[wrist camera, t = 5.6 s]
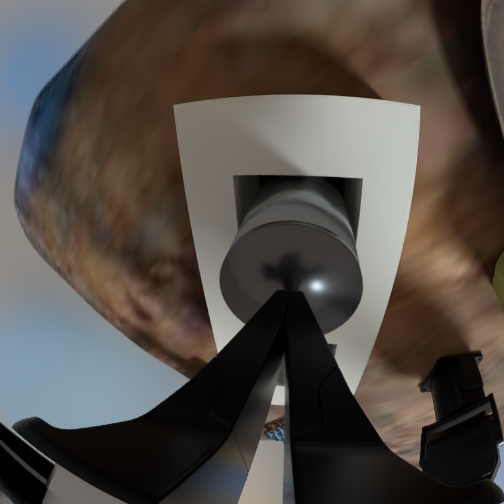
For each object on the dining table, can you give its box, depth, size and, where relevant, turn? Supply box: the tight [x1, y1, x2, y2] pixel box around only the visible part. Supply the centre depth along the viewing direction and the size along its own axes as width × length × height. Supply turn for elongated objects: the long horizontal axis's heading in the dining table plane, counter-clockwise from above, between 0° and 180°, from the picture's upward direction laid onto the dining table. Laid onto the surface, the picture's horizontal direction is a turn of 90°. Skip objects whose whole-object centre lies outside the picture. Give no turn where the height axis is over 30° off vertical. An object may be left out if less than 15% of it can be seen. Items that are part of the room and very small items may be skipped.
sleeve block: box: [173, 95, 420, 405], centre depth 18 cm, size 22×10×6 cm, turn 3°
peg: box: [219, 175, 363, 335], centre depth 12 cm, size 5×5×6 cm
